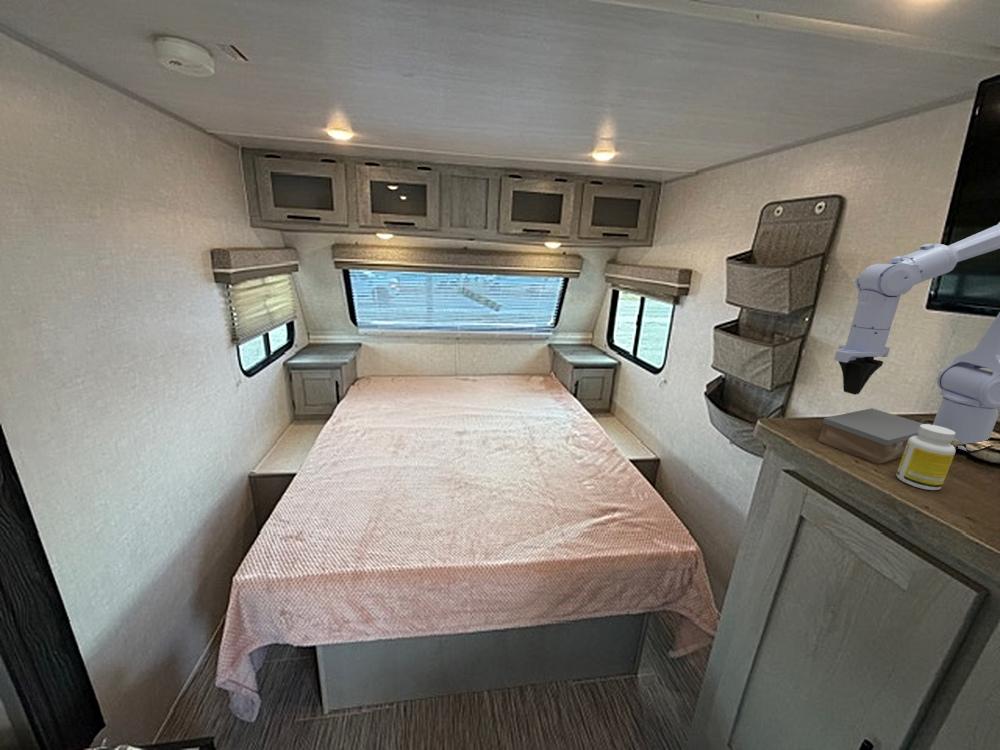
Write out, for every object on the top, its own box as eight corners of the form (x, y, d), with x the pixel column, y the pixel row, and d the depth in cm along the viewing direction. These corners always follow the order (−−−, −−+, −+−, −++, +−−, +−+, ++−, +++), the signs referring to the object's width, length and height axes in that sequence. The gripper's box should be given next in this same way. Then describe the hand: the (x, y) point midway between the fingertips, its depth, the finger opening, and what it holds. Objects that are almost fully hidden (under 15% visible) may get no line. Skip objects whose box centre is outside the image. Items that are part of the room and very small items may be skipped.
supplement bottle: (950, 493, 63) (973, 437, 61) (911, 489, 64) (931, 434, 62) (923, 475, 68) (943, 423, 66) (887, 472, 70) (904, 420, 67)
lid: (870, 412, 86) (872, 408, 85) (935, 432, 76) (936, 427, 76) (822, 422, 80) (823, 418, 79) (886, 445, 71) (888, 440, 70)
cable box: (864, 429, 87) (869, 413, 86) (928, 451, 77) (935, 432, 76) (818, 440, 81) (823, 422, 80) (880, 465, 72) (887, 445, 71)
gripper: (866, 322, 84) (849, 383, 88) (825, 325, 78) (808, 390, 82) (910, 328, 78) (889, 393, 81) (868, 332, 72) (847, 401, 76)
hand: (851, 392), depth 81 cm, fingers closed
